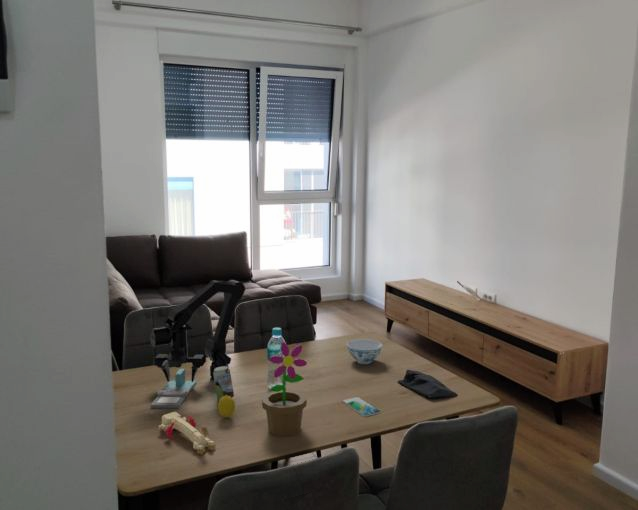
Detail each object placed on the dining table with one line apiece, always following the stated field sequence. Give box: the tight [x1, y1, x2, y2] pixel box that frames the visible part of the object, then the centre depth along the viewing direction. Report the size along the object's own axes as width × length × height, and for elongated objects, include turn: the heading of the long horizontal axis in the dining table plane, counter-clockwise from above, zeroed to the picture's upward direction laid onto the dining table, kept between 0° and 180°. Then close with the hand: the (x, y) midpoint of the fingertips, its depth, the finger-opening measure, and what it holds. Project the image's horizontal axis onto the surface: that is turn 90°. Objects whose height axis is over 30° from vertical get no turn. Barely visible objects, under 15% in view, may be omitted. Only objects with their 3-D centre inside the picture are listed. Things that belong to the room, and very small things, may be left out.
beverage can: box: [213, 366, 235, 401], centre depth 205 cm, size 6×7×12 cm
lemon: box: [217, 395, 236, 419], centre depth 191 cm, size 6×6×8 cm
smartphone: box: [341, 396, 382, 418], centre depth 200 cm, size 7×1×15 cm
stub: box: [165, 368, 197, 391], centre depth 218 cm, size 10×7×6 cm
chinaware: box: [346, 338, 383, 365], centre depth 246 cm, size 15×15×8 cm
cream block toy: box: [158, 411, 216, 455], centre depth 177 cm, size 10×9×25 cm
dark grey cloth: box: [397, 369, 458, 399], centre depth 217 cm, size 15×22×5 cm
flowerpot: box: [261, 342, 308, 437], centre depth 181 cm, size 14×14×30 cm
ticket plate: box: [150, 386, 192, 409], centre depth 207 cm, size 10×16×2 cm, turn 178°
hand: (180, 381), depth 218 cm, fingers open, 9 cm apart
